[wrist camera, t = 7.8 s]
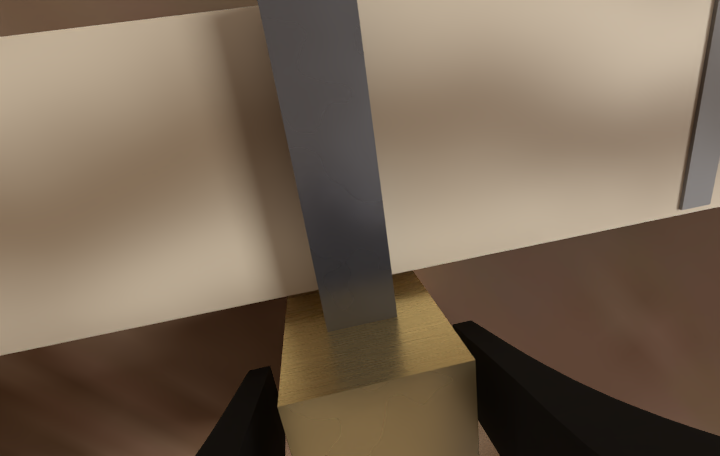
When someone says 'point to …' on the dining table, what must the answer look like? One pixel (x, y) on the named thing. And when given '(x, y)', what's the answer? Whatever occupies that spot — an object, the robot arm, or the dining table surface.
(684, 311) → the dining table surface
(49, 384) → the dining table surface
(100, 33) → the maple board
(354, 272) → the marking gauge
